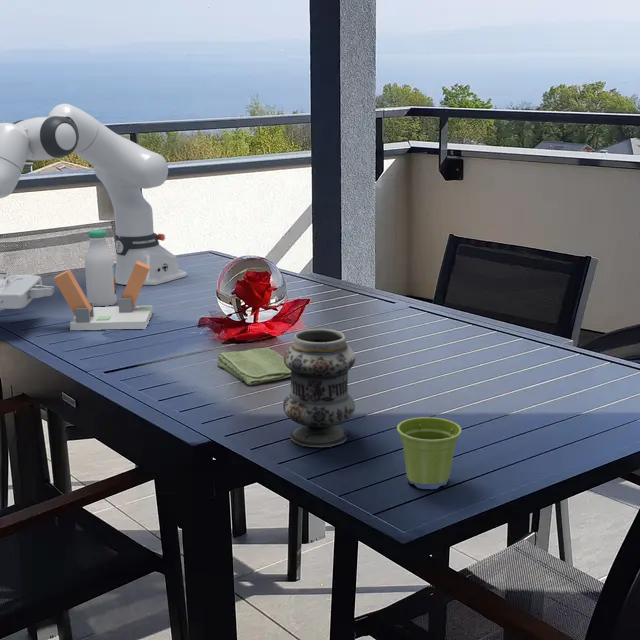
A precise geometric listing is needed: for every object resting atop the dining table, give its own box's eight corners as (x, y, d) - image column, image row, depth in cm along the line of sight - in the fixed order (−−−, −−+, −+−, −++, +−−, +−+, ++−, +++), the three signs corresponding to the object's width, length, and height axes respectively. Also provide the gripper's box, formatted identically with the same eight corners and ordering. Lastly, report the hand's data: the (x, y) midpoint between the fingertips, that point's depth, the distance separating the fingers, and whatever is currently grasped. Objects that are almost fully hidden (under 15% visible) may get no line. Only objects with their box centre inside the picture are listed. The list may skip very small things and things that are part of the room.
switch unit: (82, 314, 234) (80, 294, 233) (152, 313, 235) (151, 292, 234) (70, 331, 219) (68, 309, 217) (145, 329, 220) (144, 307, 219)
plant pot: (396, 468, 141) (397, 415, 138) (457, 470, 140) (459, 417, 138) (395, 495, 132) (396, 439, 129) (461, 497, 131) (463, 441, 129)
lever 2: (120, 301, 233) (137, 260, 230) (133, 306, 233) (150, 265, 231) (118, 305, 229) (135, 263, 226) (131, 310, 229) (149, 269, 227)
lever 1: (80, 316, 224) (56, 275, 221) (93, 310, 224) (70, 268, 221) (77, 321, 220) (53, 279, 217) (90, 314, 220) (66, 272, 216)
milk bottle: (113, 307, 242) (108, 233, 236) (84, 307, 242) (78, 233, 237) (120, 300, 249) (115, 228, 244) (92, 300, 249) (86, 228, 244)
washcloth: (248, 389, 178) (248, 374, 177) (213, 366, 193) (212, 351, 192) (307, 379, 184) (307, 364, 183) (268, 356, 199) (268, 342, 198)
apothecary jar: (359, 450, 148) (359, 343, 143) (285, 453, 147) (283, 346, 142) (350, 423, 159) (350, 324, 155) (282, 425, 158) (280, 326, 154)
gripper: (-20, 289, 208) (42, 287, 209) (4, 270, 228) (60, 269, 229) (-17, 316, 210) (44, 314, 210) (6, 295, 229) (62, 293, 230)
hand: (52, 290), depth 220 cm, fingers closed
